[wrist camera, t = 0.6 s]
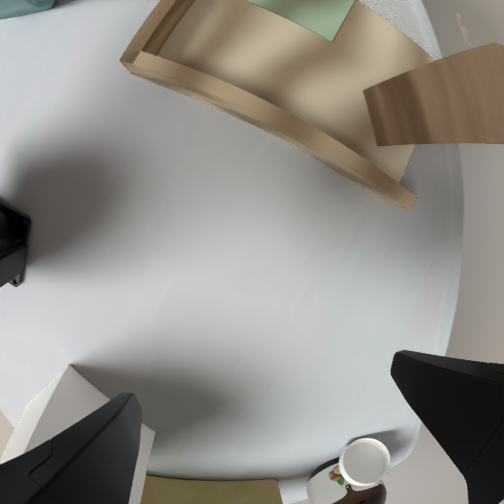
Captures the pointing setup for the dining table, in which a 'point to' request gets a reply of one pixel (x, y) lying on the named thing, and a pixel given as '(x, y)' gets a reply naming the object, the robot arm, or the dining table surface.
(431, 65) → the walnut block
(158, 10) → the tray
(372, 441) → the spread jar
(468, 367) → the robot arm
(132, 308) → the dining table surface
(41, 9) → the flower pot
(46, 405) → the milk
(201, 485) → the cheese
